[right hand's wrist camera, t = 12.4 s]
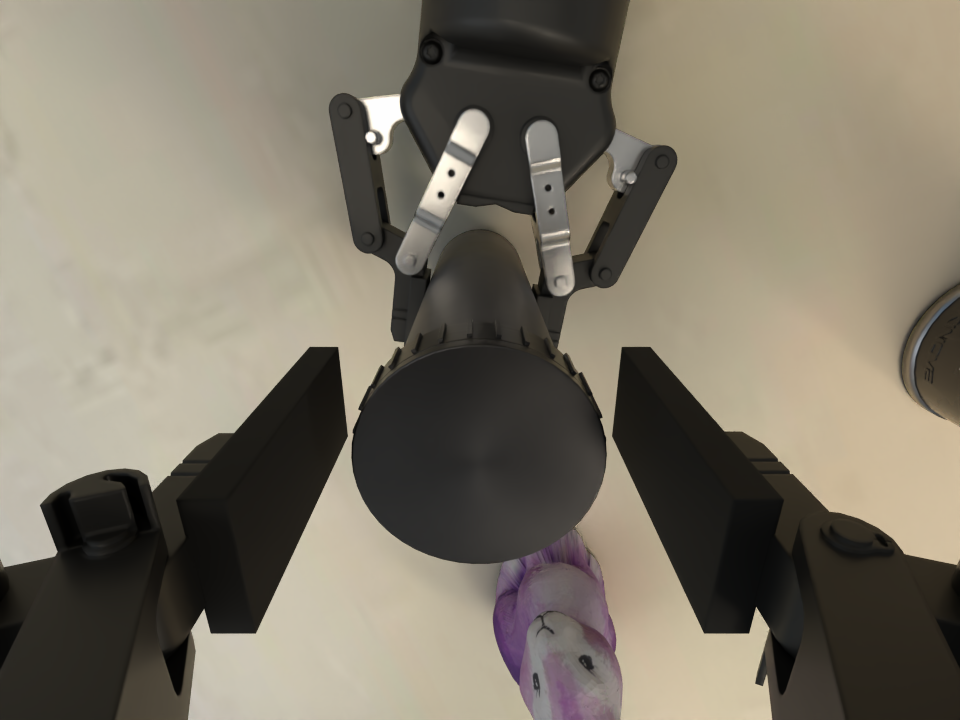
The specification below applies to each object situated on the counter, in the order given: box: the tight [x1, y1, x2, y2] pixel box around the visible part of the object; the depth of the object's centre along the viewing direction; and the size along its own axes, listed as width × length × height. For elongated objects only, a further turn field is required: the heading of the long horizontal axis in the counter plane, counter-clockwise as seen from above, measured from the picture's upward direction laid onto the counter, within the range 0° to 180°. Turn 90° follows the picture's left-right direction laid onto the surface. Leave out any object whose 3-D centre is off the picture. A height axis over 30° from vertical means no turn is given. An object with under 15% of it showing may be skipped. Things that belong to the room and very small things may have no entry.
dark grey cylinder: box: [405, 230, 554, 346], centre depth 21 cm, size 5×5×19 cm
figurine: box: [493, 529, 623, 720], centre depth 30 cm, size 9×10×15 cm
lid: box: [352, 319, 607, 564], centre depth 12 cm, size 6×6×2 cm
